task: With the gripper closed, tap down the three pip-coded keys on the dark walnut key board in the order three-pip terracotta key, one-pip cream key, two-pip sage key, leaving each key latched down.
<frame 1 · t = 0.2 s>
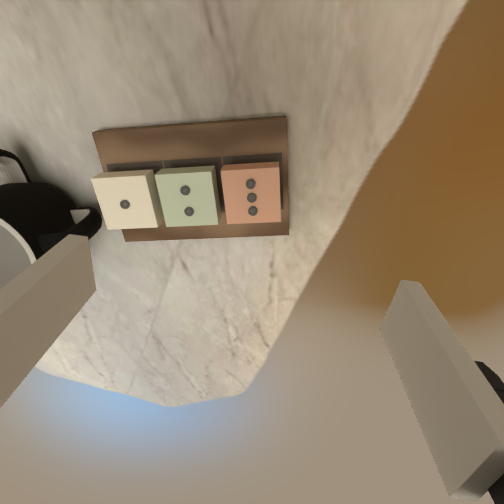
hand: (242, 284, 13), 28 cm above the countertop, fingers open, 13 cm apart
key 1: (129, 200, 36), point 6 cm above the countertop, slide at 0.0 cm
key 2: (189, 197, 35), point 6 cm above the countertop, slide at 0.0 cm
key 3: (252, 193, 34), point 6 cm above the countertop, slide at 0.0 cm
key board: (200, 182, 40), on the countertop
mug: (50, 212, 43), on the countertop
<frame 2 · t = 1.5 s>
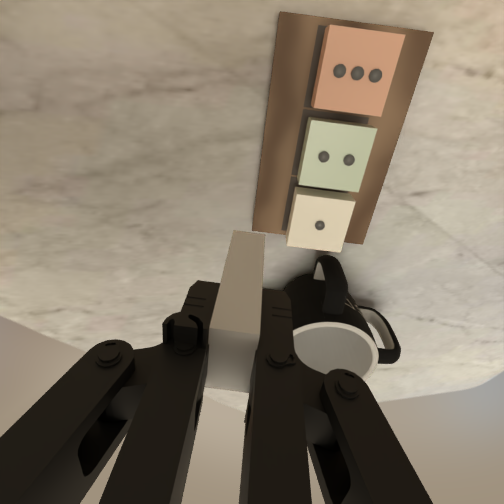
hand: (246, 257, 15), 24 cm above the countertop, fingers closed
key 1: (318, 220, 34), point 6 cm above the countertop, slide at 0.0 cm
key 2: (334, 155, 31), point 6 cm above the countertop, slide at 0.0 cm
key 3: (354, 73, 27), point 6 cm above the countertop, slide at 0.0 cm
key board: (325, 143, 35), on the countertop
mug: (312, 296, 47), on the countertop
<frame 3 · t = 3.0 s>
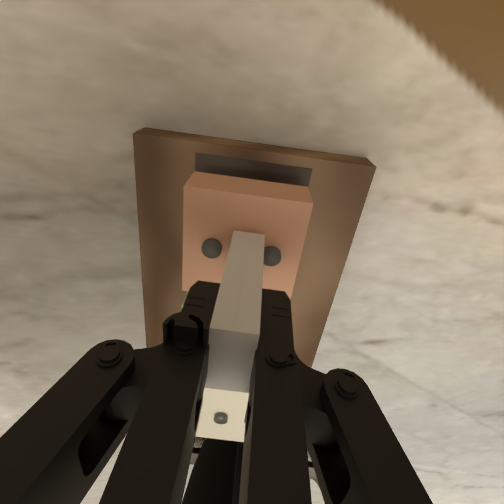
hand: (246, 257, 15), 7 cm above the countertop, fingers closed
key 1: (222, 403, 24), point 6 cm above the countertop, slide at 0.0 cm
key 2: (231, 336, 20), point 6 cm above the countertop, slide at 0.0 cm
key 3: (243, 241, 17), point 6 cm above the countertop, slide at 0.1 cm, touching gripper
key board: (238, 284, 25), on the countertop
mug: (246, 437, 36), on the countertop
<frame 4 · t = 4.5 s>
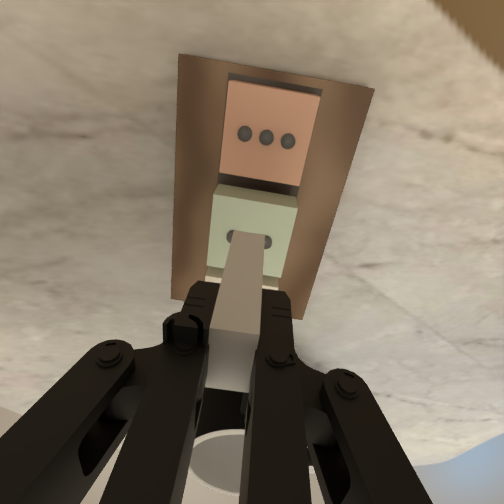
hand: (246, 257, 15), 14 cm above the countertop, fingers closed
key 1: (238, 302, 28), point 6 cm above the countertop, slide at 0.0 cm
key 2: (250, 232, 24), point 6 cm above the countertop, slide at 0.0 cm
key 3: (266, 134, 23), point 4 cm above the countertop, slide at 1.9 cm
key board: (254, 205, 29), on the countertop
mug: (252, 364, 40), on the countertop
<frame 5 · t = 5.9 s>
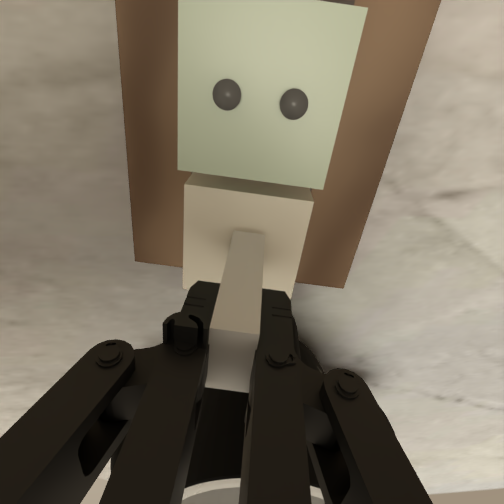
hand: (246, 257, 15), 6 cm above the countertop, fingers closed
key 1: (243, 239, 17), point 4 cm above the countertop, slide at 1.2 cm, touching gripper
key 2: (261, 97, 12), point 6 cm above the countertop, slide at 0.0 cm
key board: (263, 89, 17), on the countertop
mug: (264, 362, 28), on the countertop
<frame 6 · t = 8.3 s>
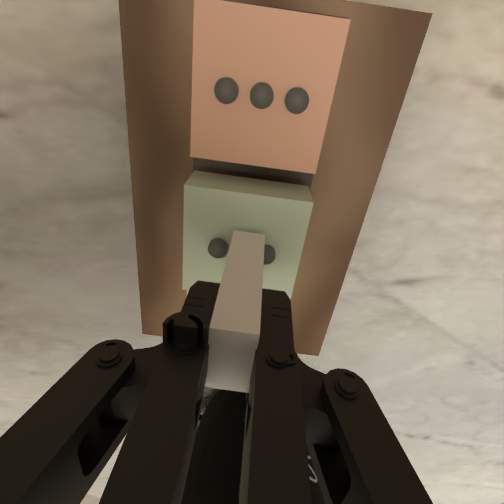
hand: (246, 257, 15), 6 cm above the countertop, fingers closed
key 1: (233, 322, 21), point 4 cm above the countertop, slide at 1.9 cm
key 2: (243, 240, 17), point 5 cm above the countertop, slide at 0.8 cm, touching gripper
key 3: (262, 93, 14), point 4 cm above the countertop, slide at 1.9 cm
key board: (248, 206, 21), on the countertop
mug: (254, 405, 32), on the countertop
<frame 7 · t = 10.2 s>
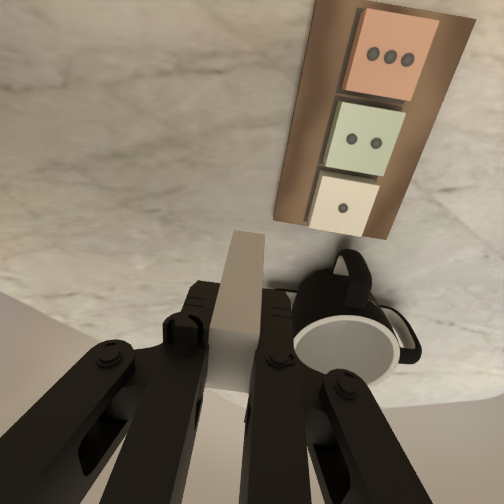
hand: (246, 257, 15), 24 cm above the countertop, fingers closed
key 1: (341, 204, 35), point 4 cm above the countertop, slide at 1.9 cm
key 2: (361, 139, 31), point 4 cm above the countertop, slide at 1.9 cm
key 3: (386, 57, 28), point 4 cm above the countertop, slide at 1.9 cm
key board: (354, 133, 35), on the countertop
mug: (329, 292, 45), on the countertop
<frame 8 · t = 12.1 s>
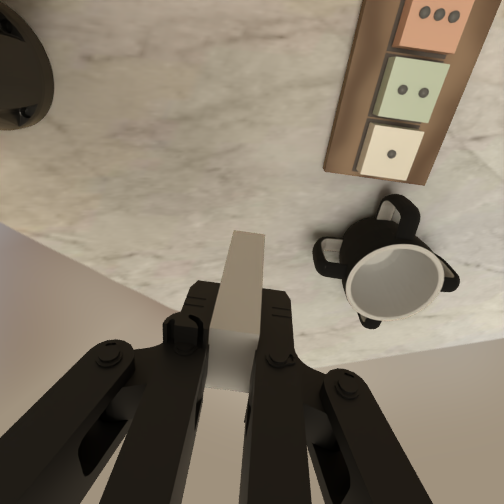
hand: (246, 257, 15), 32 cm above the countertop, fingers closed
key 1: (388, 152, 40), point 4 cm above the countertop, slide at 1.9 cm
key 2: (409, 90, 36), point 4 cm above the countertop, slide at 1.9 cm
key 3: (434, 16, 33), point 4 cm above the countertop, slide at 1.9 cm
key board: (398, 89, 40), on the countertop
mug: (369, 241, 51), on the countertop
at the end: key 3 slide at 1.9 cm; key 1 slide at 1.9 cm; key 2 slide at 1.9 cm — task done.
